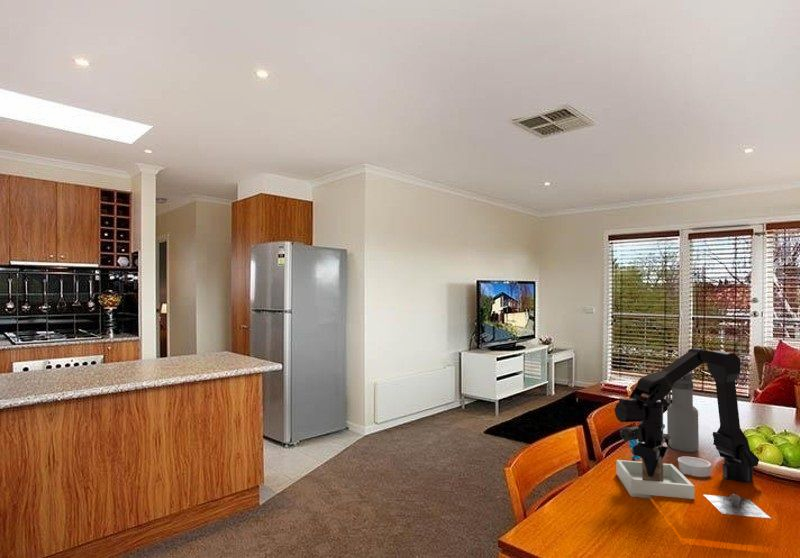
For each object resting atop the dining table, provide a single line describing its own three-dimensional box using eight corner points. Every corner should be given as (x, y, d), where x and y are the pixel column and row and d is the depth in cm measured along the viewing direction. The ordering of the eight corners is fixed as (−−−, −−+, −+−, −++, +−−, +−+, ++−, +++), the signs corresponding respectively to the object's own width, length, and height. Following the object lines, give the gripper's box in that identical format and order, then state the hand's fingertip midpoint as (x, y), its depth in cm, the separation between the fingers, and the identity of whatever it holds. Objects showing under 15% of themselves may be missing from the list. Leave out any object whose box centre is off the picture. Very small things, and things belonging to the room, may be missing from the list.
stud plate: (747, 502, 124) (747, 487, 124) (771, 522, 113) (771, 505, 113) (703, 498, 126) (702, 483, 126) (722, 517, 115) (721, 501, 115)
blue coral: (642, 464, 146) (625, 435, 153) (630, 472, 150) (614, 444, 157) (665, 464, 150) (648, 436, 157) (653, 472, 154) (637, 444, 161)
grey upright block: (646, 476, 136) (646, 453, 136) (663, 481, 133) (663, 457, 133) (642, 481, 133) (642, 457, 133) (659, 486, 130) (659, 461, 130)
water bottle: (668, 450, 164) (667, 373, 164) (664, 442, 173) (663, 369, 173) (701, 454, 160) (700, 375, 160) (695, 445, 169) (694, 371, 169)
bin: (672, 478, 139) (672, 464, 139) (694, 502, 123) (694, 486, 123) (616, 474, 142) (616, 459, 142) (631, 496, 127) (631, 480, 127)
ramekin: (700, 483, 136) (700, 468, 136) (671, 472, 144) (671, 458, 144) (717, 477, 140) (717, 463, 140) (688, 467, 148) (687, 454, 148)
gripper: (631, 409, 146) (632, 458, 145) (613, 422, 132) (613, 475, 131) (671, 416, 138) (671, 467, 138) (655, 430, 124) (656, 487, 124)
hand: (652, 473), depth 133 cm, fingers open, 5 cm apart
